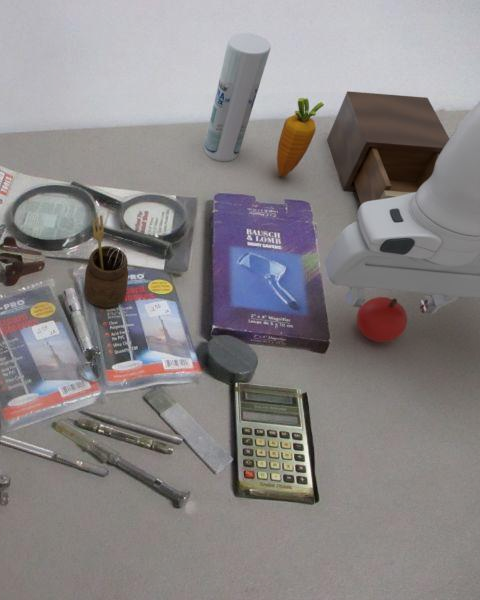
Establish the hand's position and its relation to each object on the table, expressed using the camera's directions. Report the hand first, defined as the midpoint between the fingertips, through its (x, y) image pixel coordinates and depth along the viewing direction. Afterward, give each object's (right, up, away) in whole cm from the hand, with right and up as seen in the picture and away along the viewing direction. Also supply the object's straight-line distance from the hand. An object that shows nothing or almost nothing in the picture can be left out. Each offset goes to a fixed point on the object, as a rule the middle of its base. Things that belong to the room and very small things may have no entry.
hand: (389, 306), depth 77 cm
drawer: (+11, +14, +18) cm, 25 cm away
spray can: (-15, +28, +30) cm, 43 cm away
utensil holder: (-37, +2, +8) cm, 37 cm away
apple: (0, -4, +5) cm, 6 cm away
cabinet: (+12, +24, +29) cm, 40 cm away
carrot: (-5, +22, +26) cm, 35 cm away
